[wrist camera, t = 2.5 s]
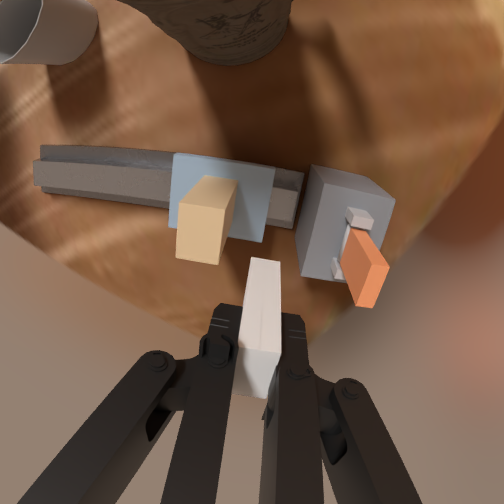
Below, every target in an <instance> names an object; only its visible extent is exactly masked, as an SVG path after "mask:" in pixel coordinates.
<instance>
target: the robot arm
mask: <svg viewBox="0 0 504 504" xmlns="http://www.w3.org/2000/svg"><path fill="white" fill-rule="evenodd" d="M305 332H306V330H305V323H304V321H303V320H302V318H301V317H300V315H295V314H289V313H282V312H281V283H280V262H278V261H273V260H267V259H261V258H255V257H251V261H250V267H249V273H248V278H247V284H246V289H245V295H244V301H243V307H241V306H235V305H230V304H224V303H220V304H219V305H218V306H217V307H216V308H215V309H214V312H213V316H212V319H211V323H210V326H209V330H208V333H207V334H206V335H204V336H203V337H202V338H201V340H200V346H199V355H197V356H196V357H193V358H191V359H184V360H175V359H174V358H173V356H172V355H170V354H169V353H167V352H164V351H160V350H159V351H158V350H157V351H150V352H147V353H145V354H144V355H143V356H141V357H140V359H139V360H138V361H137V362H136V363H135V364H134V365H133V367H132V368H131V369H130V370H129V371H128V372H127V374H126V375H125V376H124V377H123V378H122V379H121V380H120V382H119V383H118V384H117V385H116V386H115V387H114V389H113V390H112V391H111V392H110V393H109V394H108V396H107V397H106V398H105V399H104V400H103V402H102V403H101V404H100V405H99V406H98V407H97V409H96V410H95V411H94V412H93V413H92V414H91V415H90V417H89V418H88V419H87V420H86V421H85V422H84V424H83V425H82V426H81V427H80V428H79V430H78V431H77V432H76V433H75V434H74V435H73V437H72V438H71V439H70V440H69V441H68V443H67V444H66V445H65V446H64V447H63V449H62V450H61V451H60V452H59V453H58V454H57V456H56V457H55V458H54V459H53V460H52V462H51V463H50V464H49V465H48V467H47V468H46V469H45V470H44V471H43V473H42V474H41V475H40V476H39V477H38V479H37V480H36V481H35V482H34V484H33V485H32V486H31V487H30V488H29V489H28V491H27V492H26V493H25V494H24V496H23V497H22V498H21V499H20V501H19V502H18V503H17V504H115V503H116V502H117V500H118V499H119V497H120V496H121V494H122V493H123V491H124V490H125V489H126V487H127V485H128V484H129V483H130V481H131V479H132V478H133V477H134V475H135V474H136V472H137V471H138V469H139V468H140V466H141V464H142V463H143V461H144V460H145V458H146V457H147V455H148V454H149V452H150V451H151V449H152V448H153V446H154V445H155V443H156V442H157V440H158V439H159V437H160V435H161V434H162V432H163V431H164V429H165V428H166V426H167V425H168V423H169V422H170V420H171V418H172V417H173V415H174V414H175V412H176V411H182V410H184V413H183V417H182V421H181V424H180V428H179V432H178V436H177V440H176V444H175V447H174V452H173V455H172V459H171V463H170V467H169V471H168V475H167V479H166V483H165V487H164V491H163V495H162V499H161V503H160V504H215V500H216V493H217V487H218V480H219V474H220V467H221V461H222V454H223V446H224V440H225V434H226V427H227V419H228V413H229V406H230V400H231V394H237V395H243V396H250V397H257V398H265V399H266V397H267V395H268V403H267V405H266V408H265V411H264V414H263V416H262V420H264V436H263V452H262V466H261V481H260V494H259V504H324V493H323V474H322V460H323V463H324V466H325V469H326V471H327V474H328V477H329V480H330V483H331V486H332V489H333V492H334V495H335V497H336V500H337V503H338V504H422V502H421V500H420V497H419V495H418V494H417V491H416V489H415V487H414V485H413V482H412V481H411V478H410V476H409V474H408V472H407V470H406V468H405V466H404V463H403V461H402V459H401V457H400V455H399V453H398V451H397V449H396V447H395V445H394V443H393V441H392V439H391V437H390V435H389V433H388V431H387V429H386V427H385V425H384V423H383V421H382V419H381V417H380V415H379V413H378V411H377V409H376V407H375V405H374V403H373V401H372V399H371V397H370V395H369V393H368V391H367V390H366V388H365V387H364V386H363V384H362V383H360V382H359V381H357V380H354V379H351V378H343V379H340V380H339V381H338V382H336V383H332V382H329V381H327V380H324V379H322V378H320V377H318V376H317V375H315V374H314V371H313V369H312V368H311V367H310V365H309V360H308V350H307V340H306V333H305Z"/></svg>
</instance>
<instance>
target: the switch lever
mask: <svg viewBox="0 0 504 504" xmlns="http://www.w3.org/2000/svg"><path fill="white" fill-rule="evenodd" d="M337 260H338V262H340V265H341V268H342V271H343V273H344V276H345V278H346V281H347V284H348V286H349V289H350V292H351V295H352V297H353V300H354V303H355V306H360V307H368V308H373V306H374V304H375V301H376V299H377V297H378V295H379V292H380V290H381V287H382V285H383V283H384V280H385V278H386V275H387V273H388V270H389V265H388V264H387V262H386V261H385V259H384V258H383V256H382V255H381V253H380V251H379V250H378V248H377V247H376V245H375V244H374V242H373V241H372V239H371V238H370V237H369V235H368V234H367V232H366V231H365V229H364V228H359V227H354V226H351V225H350V224H349V223H348V225H347V228H346V232H345V235H344V238H343V242H342V245H341V248H340V252H339V255H338V258H337Z"/></svg>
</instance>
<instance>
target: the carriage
mask: <svg viewBox="0 0 504 504" xmlns="http://www.w3.org/2000/svg"><path fill="white" fill-rule="evenodd" d="M275 170H276V168H275V167H273V166H267V165H262V164H256V163H250V162H243V161H237V160H230V159H223V158H216V157H209V156H201V155H193V154H185V153H176V154H174V156H173V166H172V178H171V191H170V206H169V224H168V227H171V228H177V240H176V258H181V259H186V260H192V261H197V262H203V263H209V264H215V265H218V264H219V261H220V258H221V255H222V252H223V248H224V245H225V242H226V239H227V237H231V238H237V239H243V240H249V241H255V242H261V243H262V239H263V234H264V228H265V223H266V218H267V213H268V207H269V202H270V197H271V191H272V186H273V181H274V175H275Z"/></svg>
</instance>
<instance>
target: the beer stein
mask: <svg viewBox="0 0 504 504" xmlns="http://www.w3.org/2000/svg"><path fill="white" fill-rule="evenodd" d="M117 1H120V2H123V3H125V4H128V5H130V6H132V7H133V8H135V9H137V10H138V11H140V12H142V13H143V14H145V15H147V16H148V17H149V18H150V20H151V21H152V23H154V24H155V25H156V26H157V27H159V28H161V29H162V30H163V31H164V32H165V33H166V34H167V35H169V36H171V37H172V38H174V39H176V40H177V41H178V42H179V43H180V44H181V45H182V46H183V47H184V48H185V49H186V50H188V51H190V52H191V53H192V54H193V55H195V56H196V57H197V58H199V59H201V60H204V61H206V62H209V63H213V64H218V65H225V66H229V65H240V64H244V63H249V62H252V61H254V60H257V59H259V58H261V57H263V56H265V55H266V54H268V53H269V52H270V51H272V50H273V49H274V48H275V47H276V46H277V45H278V44H279V42H280V41H281V39H282V37H283V35H284V33H285V31H286V28H287V24H288V17H289V14H290V11H291V2H292V1H293V0H117Z"/></svg>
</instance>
